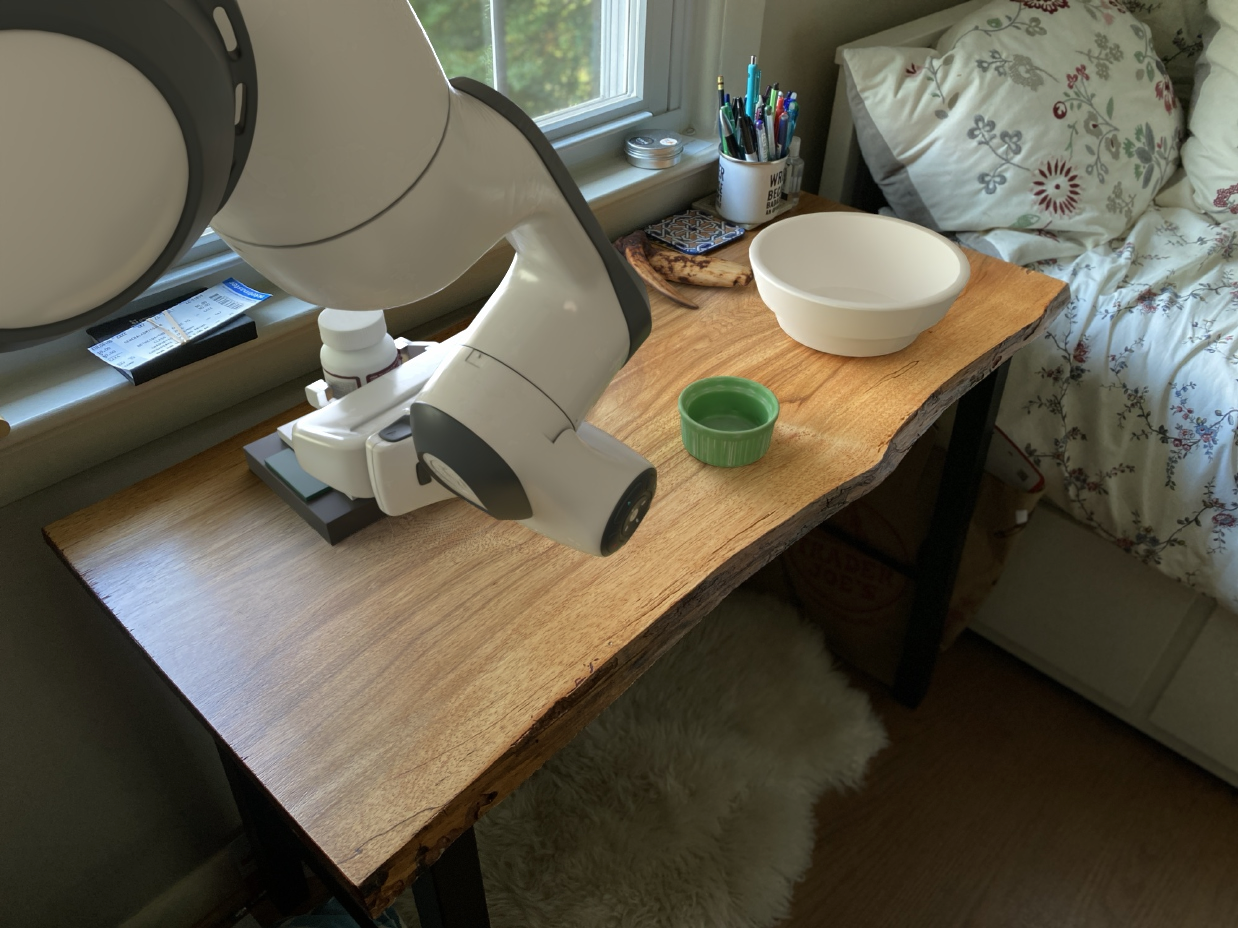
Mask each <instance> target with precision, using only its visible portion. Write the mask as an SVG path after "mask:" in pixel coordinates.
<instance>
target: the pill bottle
mask: <svg viewBox="0 0 1238 928" xmlns="http://www.w3.org/2000/svg"><path fill="white" fill-rule="evenodd" d="M317 325H318V328H319V332H320V333H319V335H320V339H321V342H322V343H323V344H322V346H321V348H320V353H319V358H320V363H321V366H322V372H323V375H324V379H325V380H324V381H325V382H326V383H329V384H331V385H332V386H333V390H334V393H333V396H335V399H337V400H339V399H340V398H342V397H344V396H346V395H348V394H349V393H351V392H353V391H355V390H357V389H359V388H360V387H362V386H364V385H366V384H368V383H369V382H371V381H373V380H375V379H377V378H379V377H380V376H382V375H384V374H386V373H388V372H389V371H391V370H393V369H395V368H397V367H399V366H400V364H399V359H398V352H397V348H396V344H395V339H394V338H393V337H392V336H391V335H390V334H389V333H388V332H387V330H388V328H387V324H386V319H385V313H384V309H383V310H375V311H345V310H336V309H329V308H325V309H323V310H322V311H321V312H320V314H319V315H318V317H317Z"/></svg>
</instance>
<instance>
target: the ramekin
mask: <svg viewBox="0 0 1238 928" xmlns="http://www.w3.org/2000/svg"><path fill="white" fill-rule="evenodd" d="M780 405H781V404H780V401H779V399H778V397H777V395H775V393H774V392H773V391H772V390H771V389H770V388H768V387H767V386H765V385H764V384H762V383H759V382H758V381H754V380H752V379H749V378H745V377H742V376H741V377H740V376H735V375H734V376H733V375H717V376H716V375H715V376H709V377H704V378H701V379H698V380H696V381H693V382H692V383H689V384H688V385H687V386H686V387H684V388H683V389H682V391H681V392H680V394H679V396H678V400H677V407H678V408H677V409H678V413H679V415H680V432H681V442H682V445H683V447H684V448H685V450H686V451H687V453H689V454H690V455H691V456H692V457H693V458H695V459H696V460H698V461H700V462H702V463H705V464H707V465H710V466H714V467H720V468H737V467H738V468H739V467H744V466H747V465H751V464H753V463H755V462H757V461H759V460H760V459H761V458H763V457H764V456H765V455H766V454H767V451H768V450H769V449H770V446H771V442H772V438H773V433H774V429H775V424H776V422H777V421H778V417H779V415H780V410H781V406H780Z"/></svg>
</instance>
